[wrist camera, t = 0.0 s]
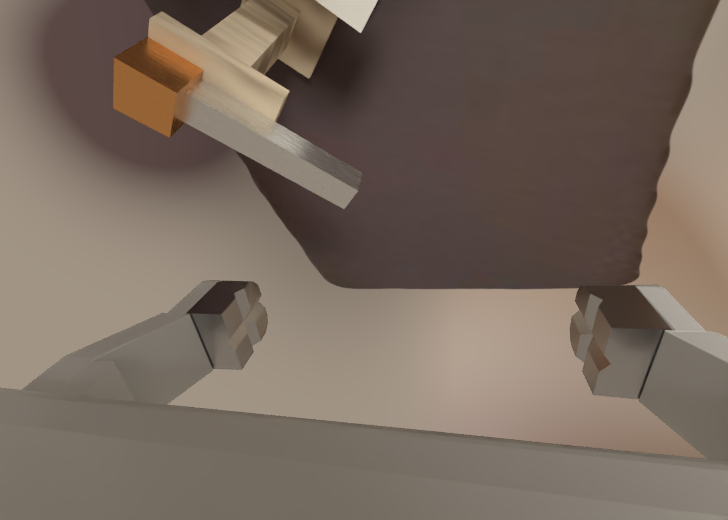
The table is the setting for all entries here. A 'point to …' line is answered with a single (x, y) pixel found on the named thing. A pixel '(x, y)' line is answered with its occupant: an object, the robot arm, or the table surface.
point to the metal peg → (221, 119)
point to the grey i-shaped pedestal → (351, 11)
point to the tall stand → (252, 47)
